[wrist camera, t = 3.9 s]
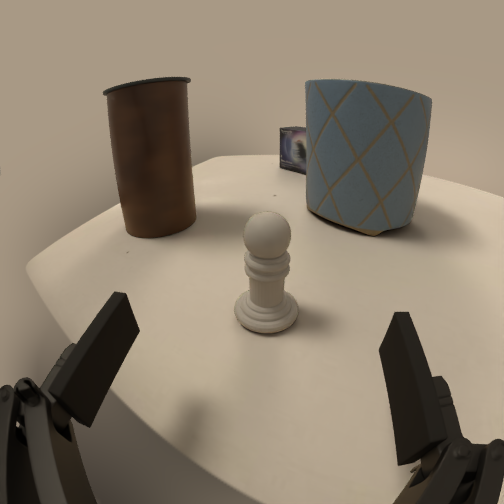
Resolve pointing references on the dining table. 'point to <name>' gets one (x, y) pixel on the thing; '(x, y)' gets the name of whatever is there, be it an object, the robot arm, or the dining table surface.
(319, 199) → the planter
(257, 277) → the chess piece
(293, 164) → the small box
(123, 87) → the slate board
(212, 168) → the dining table surface
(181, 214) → the walnut pedestal
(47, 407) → the robot arm
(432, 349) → the dining table surface
